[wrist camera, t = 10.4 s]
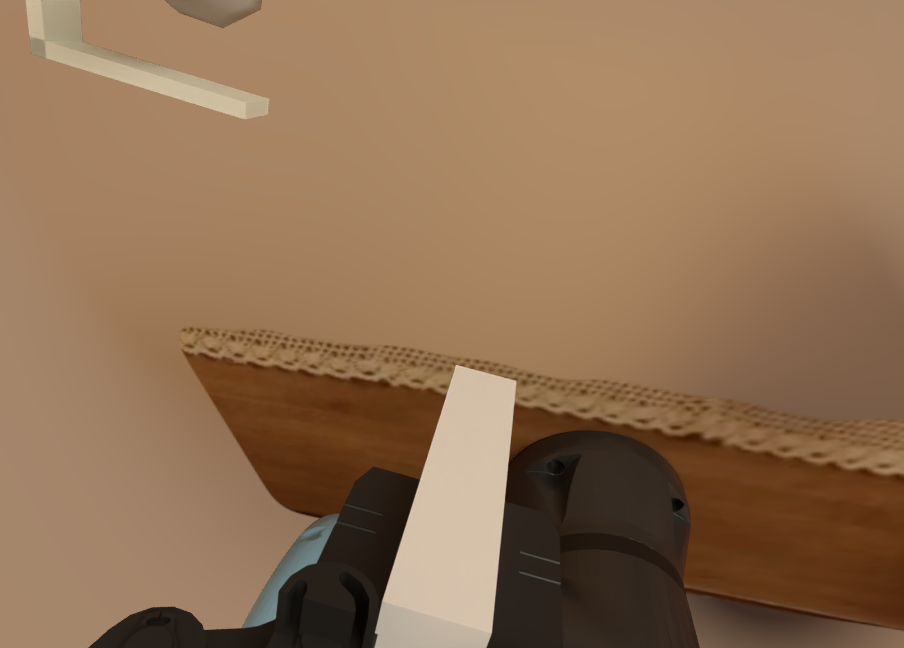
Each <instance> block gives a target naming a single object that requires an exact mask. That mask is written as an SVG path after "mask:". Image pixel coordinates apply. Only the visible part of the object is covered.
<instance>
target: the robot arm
mask: <svg viewBox="0 0 904 648" xmlns="http://www.w3.org/2000/svg"><path fill="white" fill-rule="evenodd" d="M515 390H516V381H514V380H511V379H507V378H503V377H499V376H496V375H492V374H488V373H484V372H481V371H477V370H473V369H469V368H465V367H462V366H458V365H456V368H455V371H454V374H453V377H452V380H451V384H450V387H449V390H448V393H447V396H446V399H445V403H444V406H443V409H442V412H441V415H440V419H439V422H438V425H437V428H436V431H435V435H434V438H433V441H432V444H431V447H430V451H429V454H428V457H427V460H426V463H425V466H424V470H423V473H422V476H421V479H416V478H413V477H409V476H405V475H402V474H398V473H395V472H391V471H387V470H384V469H380V468H377V467H373V468H371V469H370V470H369V471H368V472H366V473H365V474H364V475H363V476H361V477H360V478H359V479H358V480H356V481H355V483H354V485H353V487H352V489H351V491H350V494H349V496H348V498H347V500H346V502H345V505H344V506H343V508H342V510H341V512H340V514H330V515H327V516H324V517H322V518H320V519H318V520H317V521H315V522H314V523H312V524H311V525H310V526H309V527H308V528H307V529H306V530H305V531H304V532H303V533H302V534H301V535H300V536H299V538H298V539H297V540H296V541H295V543H294V544H293V545H292V546H291V548H290V549H289V550H288V552H287V553H286V555H285V556H284V557H283V559H282V560H281V562H280V563H279V565H278V566H277V568H276V569H275V571H274V572H273V574H272V576H271V577H270V579H269V580H268V582H267V584H266V585H265V587H264V589H263V590H262V592H261V594H260V596H259V597H258V599H257V601H256V602H255V604H254V606H253V608H252V609H251V612H250V613H249V615H248V617H247V619H246V621H245V622H244V624H243V626H242V628H239V629H216V630H204V629H203V625H202V624H201V623H200V622H199V621H198V620H197V619H196V618H195V617H194V616H193V615H192V614H191V613H190V612H187V611H184V610H181V609H178V608H176V607H153V608H149V609H146V610H143V611H141V612H138V613H135V614H132V615H130V616H128V617H127V618H125V619H124V620H122V621H121V622H119V623H118V624H116V625H115V626H113V627H112V628H110V629H109V630H108V631H107V632H106V633H104V634H103V635H102V636H101V637H100V638H99V639H98V640H97V641H96V642H94V643H93V644H92V645H91V646H90V647H89V648H700V647H699V643H698V639H697V635H696V631H695V628H694V624H693V620H692V616H691V612H690V608H689V604H688V601H687V597H686V593H685V589H684V584H683V576H684V569H685V562H686V556H687V549H688V542H689V535H690V528H691V518H690V510H689V505H688V502H687V499H686V495H685V492H684V488H683V485H682V483H681V480H680V478H679V476H678V475H677V473H676V471H675V470H674V469H673V467H672V466H671V465H670V464H669V463H668V462H667V461H666V460H665V459H664V458H663V457H662V456H661V455H660V454H658V453H657V452H656V451H654V450H653V449H651V448H650V447H648V446H646V445H644V444H642V443H641V442H638V441H636V440H634V439H631V438H628V437H625V436H622V435H618V434H614V433H608V432H601V431H575V432H567V433H562V434H558V435H554V436H551V437H548V438H546V439H543V440H541V441H539V442H537V443H535V444H533V445H531V446H530V447H528V448H527V449H525V450H524V451H523V452H522V453H520V454H519V455H518V456H517V457H516V458H515V459H514V460H513V462H512V463H511V464H510V465H509V467H508V461H509V451H510V441H511V431H512V421H513V410H514V400H515Z"/></svg>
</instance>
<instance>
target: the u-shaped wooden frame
mask: <svg viewBox="0 0 904 648" xmlns="http://www.w3.org/2000/svg"><path fill="white" fill-rule="evenodd" d="M26 9H27V18H28V28H29V37H30V47H31V54H33V55H36V56H40V57H43V58H46V59H49V60H53V61H56V62H59V63H63V64H66V65H69V66H72V67H75V68H79V69H82V70H85V71H88V72H92V73H95V74H98V75H101V76H105V77H108V78H111V79H115V80H118V81H121V82H124V83H127V84H131V85H134V86H137V87H140V88H144V89H147V90H150V91H154V92H156V93H160V94H163V95H166V96H169V97H173V98H176V99H179V100H182V101H186V102H189V103H192V104H195V105H199V106H202V107H205V108H208V109H212V110H215V111H218V112H221V113H225V114H228V115H231V116H234V117H238V118H241V119H244V120H246V119H251V118H255V117H260V116H265V115H268V108H269V99H267V98H264V97H260V96H257V95H254V94H251V93H247V92H244V91H240V90H238V89H235V88H231V87H228V86H225V85H221V84H218V83H215V82H212V81H208V80H205V79H202V78H199V77H195V76H192V75H189V74H185V73H182V72H179V71H175V70H173V69H169V68H166V67H163V66H160V65H156V64H153V63H150V62H146V61H143V60H140V59H137V58H133V57H130V56H127V55H124V54H120V53H117V52H114V51H110V50H107V49H104V48H101V47H97V46H94V45H91V44H88V43H85V42H83V38H82V23H81V6H80V0H26Z"/></svg>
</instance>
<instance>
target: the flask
mask: <svg viewBox="0 0 904 648" xmlns="http://www.w3.org/2000/svg"><path fill="white" fill-rule="evenodd" d="M165 1H166V2H167V3H169V4H170V5H171V6H172V7H173V8H174V9H176V10H177V11H178V12H179V13H182V14H184V15H188V16H190V17H193V18H196V19H199V20H201V21H204V22H207V23H210V24H213V25H216V26H219V27H222V28H224V27H226V26H228V25H230V24H232V23H234V22H236V21H238V20H240V19H242V18H244V17H246V16H248V15H250V14H252V13H255V12H256V11H259V10H260V9H261V4H262V0H165Z"/></svg>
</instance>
